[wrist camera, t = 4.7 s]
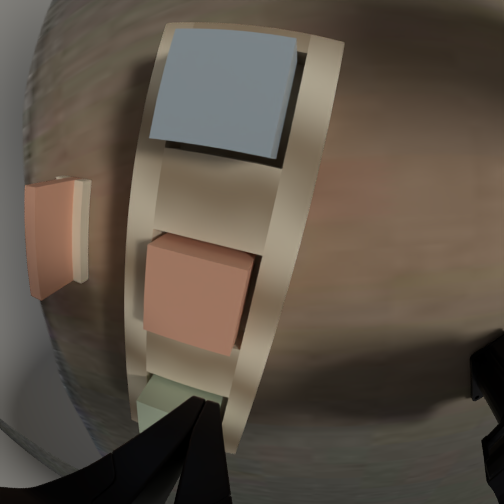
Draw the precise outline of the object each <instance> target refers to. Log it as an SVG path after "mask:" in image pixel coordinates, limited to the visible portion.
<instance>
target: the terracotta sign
mask: <svg viewBox="0 0 504 504" xmlns="http://www.w3.org/2000/svg"><path fill="white" fill-rule="evenodd" d="M91 181H92V180H88V179H82V178H76V177H70V176H59V177H56V180H50V181H45V182H40V183H35V184H30V185H25V240H26V254H27V266H28V275H29V283H30V291H31V296H33V297H35V298H37V299H39V300H40V301H42V300H43V299H45V298H46V297H48V296H49V295H51V294H53V293H54V292H56V291H57V290H59V289H60V288H62V287H64V286H65V285H67V284H68V283H70V282H72V281H73V280H74V281H76V282H79V283H83V282H85V281H86V280H88V228H89V206H90V192H91Z"/></svg>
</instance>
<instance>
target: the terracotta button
mask: <svg viewBox="0 0 504 504" xmlns="http://www.w3.org/2000/svg"><path fill="white" fill-rule="evenodd" d="M256 255H257V254H253V253H249V252H245V251H241V250H237V249H233V248H229V247H225V246H221V245H217V244H213V243H209V242H205V241H201V240H197V239H193V238H189V237H185V236H181V235H177V234H173V233H169V232H168V233H166V234H164V235H163V236H161V237H159V238H158V239H156V240H154V241H153V242H151V243H149V244H148V245H147V258H146V272H145V289H144V316H143V329H144V330H147V331H150V332H152V333H155V334H158V335H161V336H164V337H167V338H170V339H173V340H176V341H179V342H182V343H185V344H188V345H192V346H195V347H198V348H202V349H205V350H208V351H212V352H215V353H219V354H222V355H226V356H229V357H230V354H231V351H232V349H233V346H234V343H235V340H236V338H237V335H238V332H239V329H240V326H241V322H242V317H243V313H244V309H245V304H246V300H247V295H248V291H249V286H250V282H251V278H252V273H253V269H254V264H255V260H256Z"/></svg>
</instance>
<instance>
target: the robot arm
mask: <svg viewBox="0 0 504 504" xmlns="http://www.w3.org/2000/svg"><path fill="white" fill-rule="evenodd" d="M470 369H471V398H472V400H473V401H477V400H478V399H480V398H482V397H484V398H485V400H486V401H487V403H488V405H489V407H490V409H491V410H492V412H493V414H494V416H495V418H496V420H497V422H498V423H499V424H498V425H497V426H496V427H495V428H494V429H493V430H492V431H491V432H490V433H489V434H488V435H487V436H485V437H484V438H483V439H482V440H481V442H482V448H483V455H484V463H485V473H486V480H487V483H488V485H489V486H490V487H491V488H492V490H493V491H494V493H495V495H496V497H497V499H498V502H499V504H504V335H503V336H501V337H500V338H498V339H497V340H495V341H494V342H492V343H490V344H489V345H487V346H486V347H484V348H482V349H481V350H479V351H477V352H476V353H474V354H473V355H472V356H471V358H470ZM180 474H181V476H180ZM179 476H180V480H179V485H178V489H177V493H176V497H175V501H174V504H232V497H231V496H230V495H231V491H230V484H229V477H228V470H227V462H226V454H225V446H224V438H223V429H222V420H221V411H220V404H219V403H217V402H214V401H211V400H207V401H206V400H205V399H204V398H201V397H198V396H191V397H190V398H189V399H187V400H186V401H185V402H183V403H182V404H180V405H179V406H178V407H176V408H175V409H174V410H172V411H171V412H170V413H168V414H167V415H165V416H164V417H163V418H161V419H160V420H158V421H157V422H155V423H154V424H153V425H151V426H150V427H148V428H147V429H145V430H144V431H143V432H141V433H140V434H138V435H137V436H135V437H134V438H132V439H131V440H129V441H128V442H126V443H125V444H123V445H122V446H120V447H119V448H117V449H115V450H114V451H113V452H112V453H109V454H107V455H106V456H104V457H103V458H101V459H100V460H98V461H96V462H94V463H92V464H91V465H89V466H87V467H85V468H83V469H80V470H78V471H76V472H74V473H71V474H69V475H66V476H64V477H61V478H59V479H56V480H53V481H51V482H48V483H45V484H42V485H39V486H36V487H31V488H8V487H0V504H164V503H165V502H166V500H167V498H168V496H169V495H170V493H171V491H172V489H173V487H174V485H175V484H176V482H177V480H178V478H179Z"/></svg>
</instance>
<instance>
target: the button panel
mask: <svg viewBox="0 0 504 504" xmlns="http://www.w3.org/2000/svg"><path fill="white" fill-rule="evenodd" d="M175 29H222V30H237V31H248V32H257V33H265V34H272V35H279V36H286V37H291V38H296V39H297V66H296V70H295V75H294V79H293V84H292V89H291V93H290V98H289V103H288V107H287V112H286V116H285V121H284V125H283V130H282V135H281V139H280V144H279V148H278V153H277V157H276V159H273V158H267V157H262V156H257V155H252V154H247V153H242V152H237V151H232V150H226V149H221V148H215V147H209V146H203V145H197V144H190V143H183V142H176V141H169V140H161V139H153V138H149V136H150V131H151V126H152V121H153V116H154V111H155V106H156V101H157V97H158V92H159V88H160V84H161V80H162V76H163V72H164V68H165V64H166V60H167V56H168V53H169V49H170V46H171V42H172V39H173V36H174V32H175ZM344 44H345V42H341V41H337V40H333V39H329V38H325V37H321V36H316V35H311V34H306V33H301V32H296V31H290V30H284V29H277V28H270V27H262V26H253V25H242V24H229V23H204V22H183V23H166V27H165V30H164V33H163V36H162V39H161V43H160V46H159V50H158V53H157V57H156V60H155V64H154V68H153V72H152V76H151V80H150V84H149V88H148V93H147V97H146V102H145V106H144V111H143V116H142V121H141V127H140V132H139V138H138V143H137V150H136V156H135V163H134V170H133V177H132V185H131V194H130V203H129V213H128V225H127V238H126V255H125V285H124V321H125V350H126V367H127V380H128V391H129V401H130V410H131V418H132V420H134V421H136V422H138V414H137V403H136V400H137V399H138V397H139V396H140V394H141V393H142V391H143V390H144V388H145V387H146V385H147V383H148V382H149V380H150V379H151V377H152V376H153V374H156V375H158V376H161V377H164V378H167V379H170V380H172V381H175V382H178V383H181V384H184V385H187V386H190V387H194V388H197V389H200V390H203V391H207V392H210V393H213V394H217V395H220V396H223V399H222V404H221V408H220V411H221V420H222V429H223V438H224V446H225V452H228V453H232V454H235V453H236V450H237V447H238V445H239V442H240V439H241V436H242V433H243V430H244V428H245V425H246V422H247V419H248V416H249V413H250V410H251V407H252V404H253V401H254V398H255V395H256V392H257V389H258V386H259V383H260V380H261V377H262V373H263V370H264V367H265V364H266V361H267V358H268V354H269V351H270V348H271V345H272V341H273V338H274V335H275V332H276V328H277V325H278V321H279V318H280V315H281V311H282V308H283V304H284V301H285V297H286V294H287V290H288V287H289V283H290V280H291V276H292V273H293V269H294V265H295V262H296V258H297V254H298V250H299V247H300V243H301V239H302V235H303V231H304V228H305V224H306V220H307V216H308V212H309V208H310V204H311V200H312V196H313V192H314V187H315V183H316V179H317V175H318V171H319V166H320V162H321V158H322V153H323V149H324V144H325V140H326V135H327V131H328V126H329V121H330V116H331V112H332V107H333V102H334V97H335V92H336V87H337V82H338V77H339V71H340V66H341V60H342V55H343V49H344ZM168 232H169V233H173V234H177V235H181V236H185V237H189V238H193V239H197V240H201V241H205V242H209V243H213V244H217V245H221V246H225V247H229V248H233V249H237V250H241V251H245V252H249V253H253V254H257V255H256V260H255V264H254V269H253V273H252V278H251V282H250V286H249V291H248V295H247V300H246V304H245V309H244V313H243V317H242V322H241V326H240V329H239V332H238V335H237V338H236V340H235V343H234V346H233V349H232V351H231V354H230V357H229V356H226V355H222V354H219V353H215V352H212V351H208V350H205V349H202V348H198V347H195V346H192V345H188V344H185V343H182V342H179V341H176V340H173V339H170V338H167V337H164V336H161V335H158V334H155V333H152V332H150V331H147V330H144V329H143V316H144V289H145V272H146V258H147V245H148V244H149V243H151V242H153V241H154V240H156V239H158V238H159V237H161V236H163V235H164V234H166V233H168Z"/></svg>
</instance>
